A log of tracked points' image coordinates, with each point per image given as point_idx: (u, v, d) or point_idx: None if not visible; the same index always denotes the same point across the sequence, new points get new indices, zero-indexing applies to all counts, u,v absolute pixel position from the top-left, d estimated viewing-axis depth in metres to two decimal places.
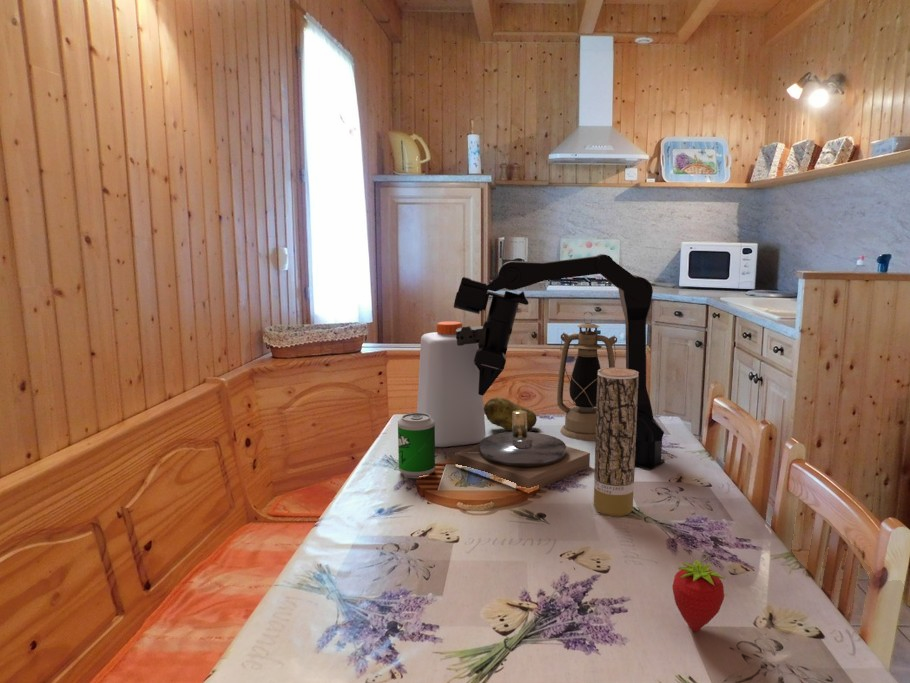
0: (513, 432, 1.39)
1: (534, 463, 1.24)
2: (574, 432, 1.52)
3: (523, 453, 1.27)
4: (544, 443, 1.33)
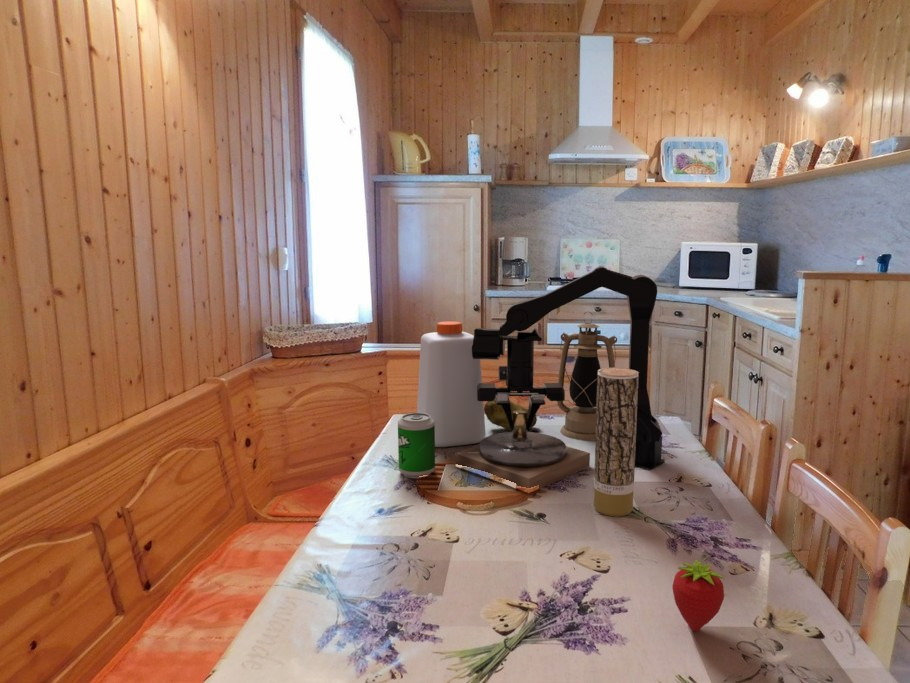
0: (513, 432, 1.39)
1: (534, 463, 1.24)
2: (574, 432, 1.52)
3: (523, 453, 1.27)
4: (544, 443, 1.33)
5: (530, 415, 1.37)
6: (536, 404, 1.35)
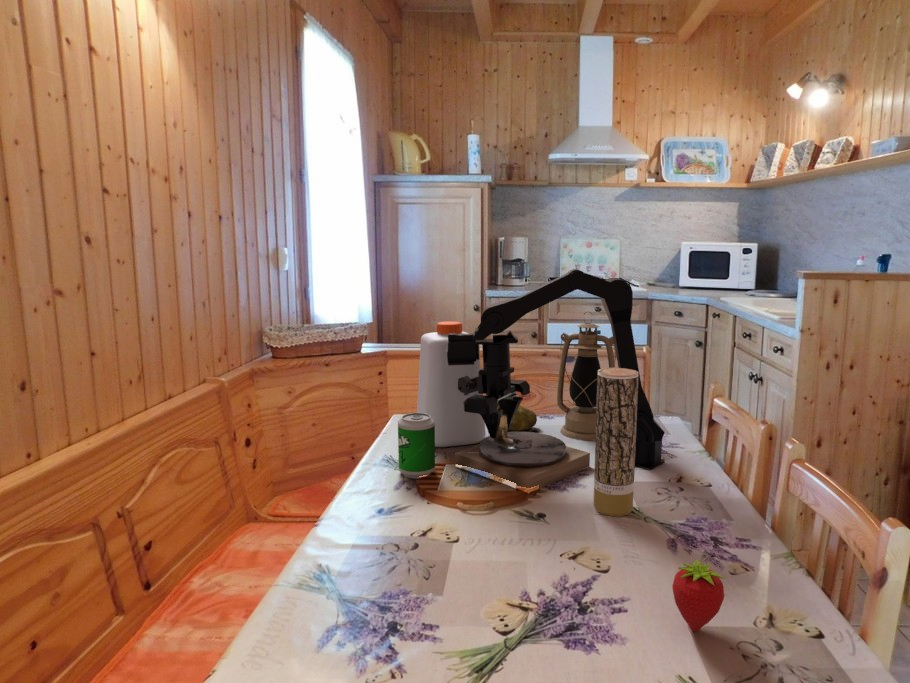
0: (497, 435, 1.36)
1: (559, 458, 1.27)
2: (574, 432, 1.52)
3: (540, 451, 1.28)
4: (535, 439, 1.36)
5: (513, 414, 1.37)
6: (519, 401, 1.37)
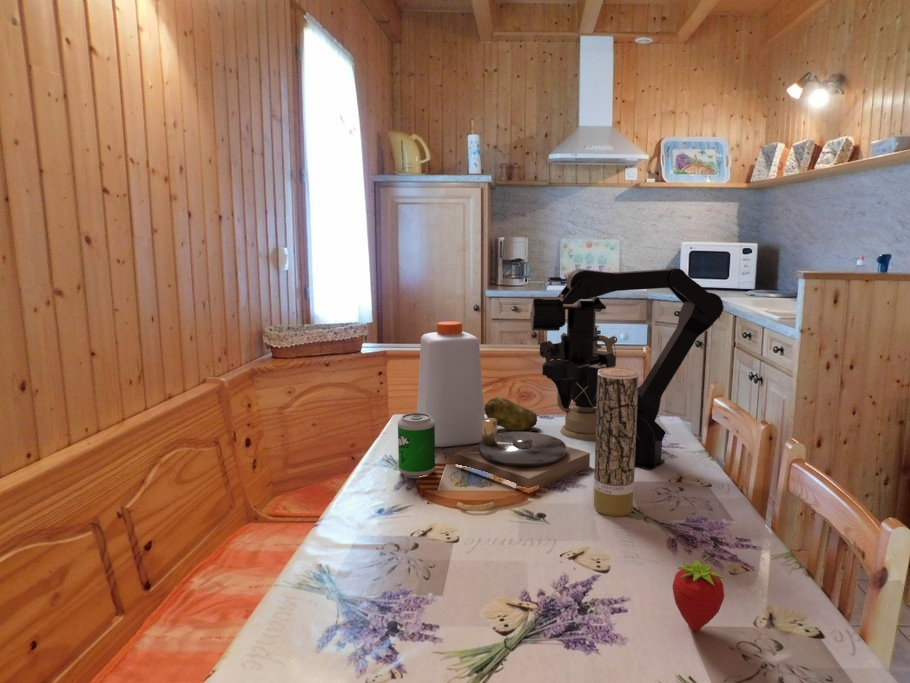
0: (491, 442, 1.32)
1: None
2: (574, 432, 1.52)
3: (548, 446, 1.31)
4: None
5: None
6: None
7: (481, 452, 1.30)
